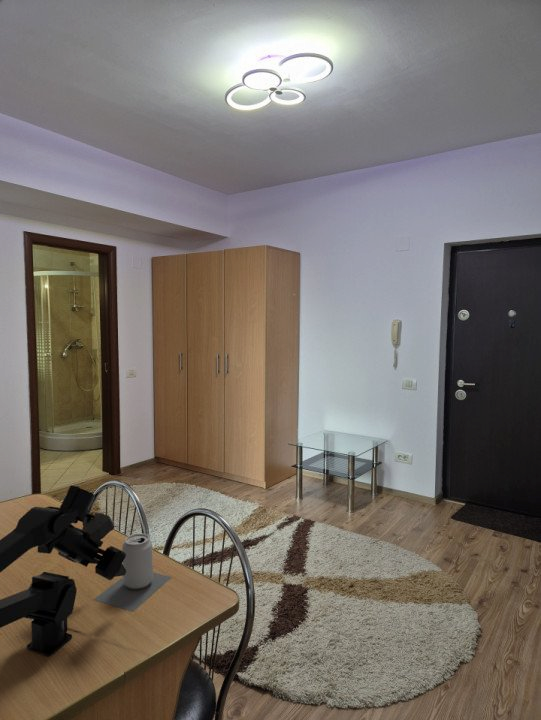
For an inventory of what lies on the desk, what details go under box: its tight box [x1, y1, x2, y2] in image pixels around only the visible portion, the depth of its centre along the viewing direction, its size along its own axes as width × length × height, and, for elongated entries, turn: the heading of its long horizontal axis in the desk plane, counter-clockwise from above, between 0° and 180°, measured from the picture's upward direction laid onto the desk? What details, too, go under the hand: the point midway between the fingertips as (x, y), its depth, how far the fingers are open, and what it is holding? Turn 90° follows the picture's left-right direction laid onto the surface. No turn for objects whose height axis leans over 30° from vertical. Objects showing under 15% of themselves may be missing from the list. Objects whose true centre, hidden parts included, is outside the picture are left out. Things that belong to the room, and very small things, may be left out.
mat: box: [93, 571, 173, 612], centre depth 120 cm, size 16×12×1 cm
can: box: [121, 532, 154, 589], centre depth 121 cm, size 8×8×12 cm
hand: (112, 567), depth 115 cm, fingers open, 9 cm apart
